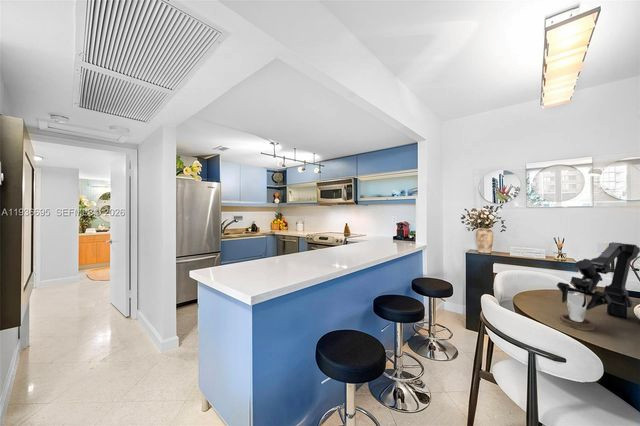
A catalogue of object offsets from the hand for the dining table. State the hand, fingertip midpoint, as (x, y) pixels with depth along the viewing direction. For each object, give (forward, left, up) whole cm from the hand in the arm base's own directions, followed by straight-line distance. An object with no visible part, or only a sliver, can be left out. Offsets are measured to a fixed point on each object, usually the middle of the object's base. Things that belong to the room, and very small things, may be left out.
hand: (574, 305), depth 122 cm
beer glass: (-1, -1, -9) cm, 9 cm away
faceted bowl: (-1, -1, -10) cm, 10 cm away
